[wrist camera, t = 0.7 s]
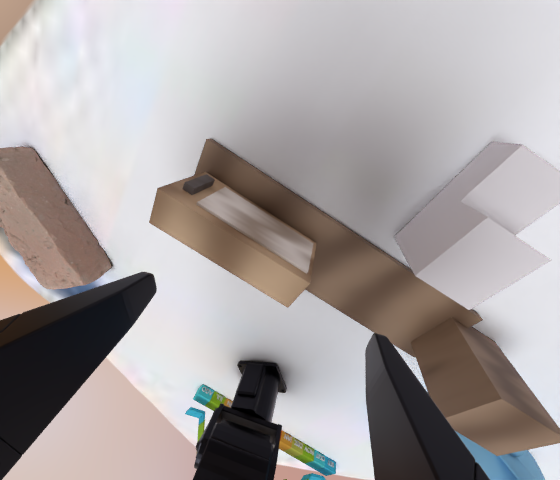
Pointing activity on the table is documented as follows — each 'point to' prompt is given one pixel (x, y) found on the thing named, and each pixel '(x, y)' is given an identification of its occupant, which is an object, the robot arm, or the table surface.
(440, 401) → the wooden shelf
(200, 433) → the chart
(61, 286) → the brick
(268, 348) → the table surface
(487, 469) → the decorative pot
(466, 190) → the white chair-shaped block
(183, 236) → the wall mounted shelf tray
